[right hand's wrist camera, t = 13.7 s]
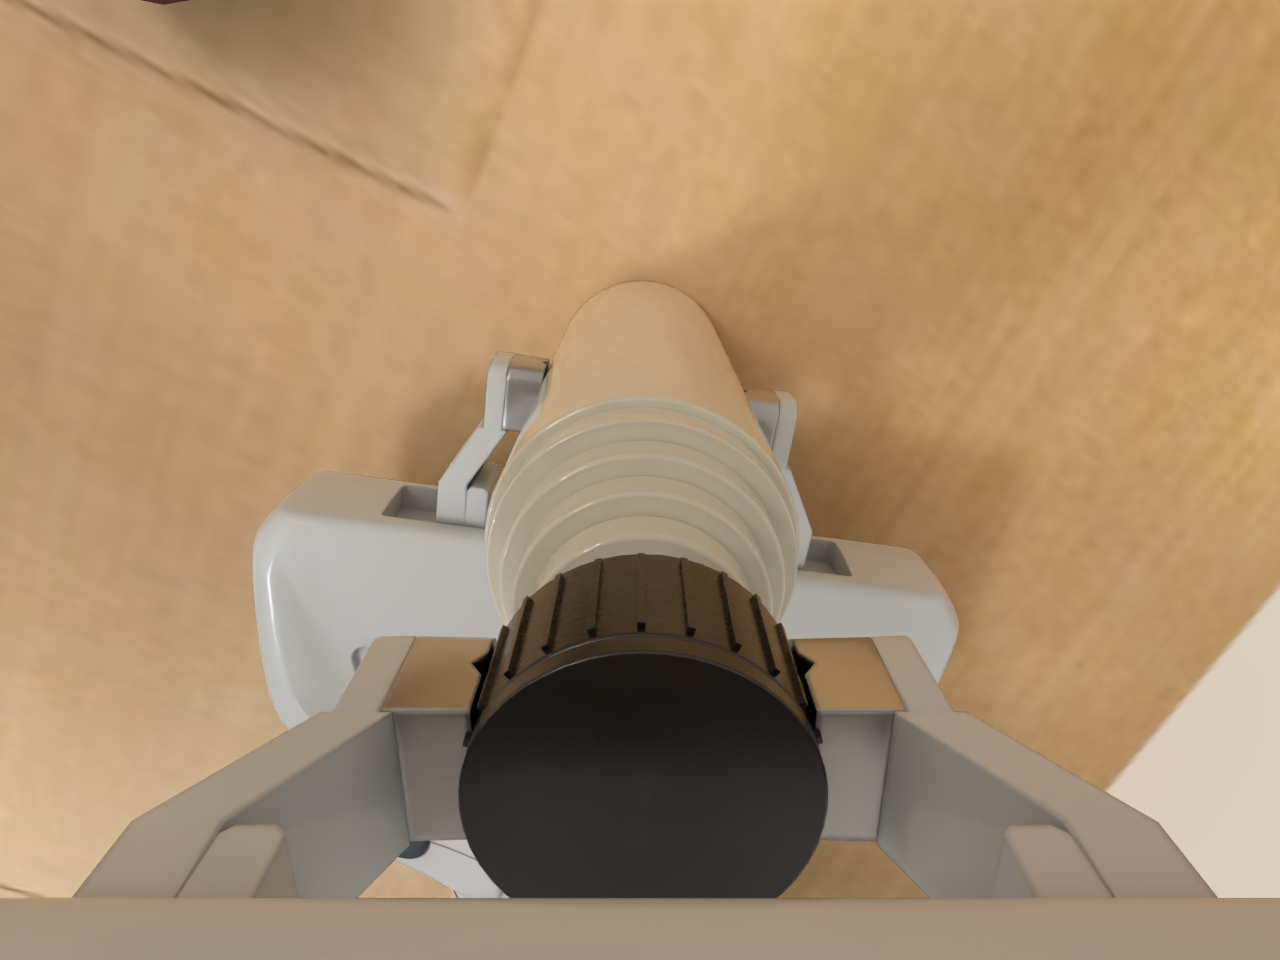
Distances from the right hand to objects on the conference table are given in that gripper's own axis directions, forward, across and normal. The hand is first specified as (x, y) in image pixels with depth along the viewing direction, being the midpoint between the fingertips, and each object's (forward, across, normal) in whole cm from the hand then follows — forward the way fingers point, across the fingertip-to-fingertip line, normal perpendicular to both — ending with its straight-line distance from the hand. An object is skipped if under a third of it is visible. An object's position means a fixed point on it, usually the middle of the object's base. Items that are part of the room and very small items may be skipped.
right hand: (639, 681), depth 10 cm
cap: (-2, 0, 0) cm, 2 cm away
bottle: (+18, 0, 0) cm, 18 cm away
